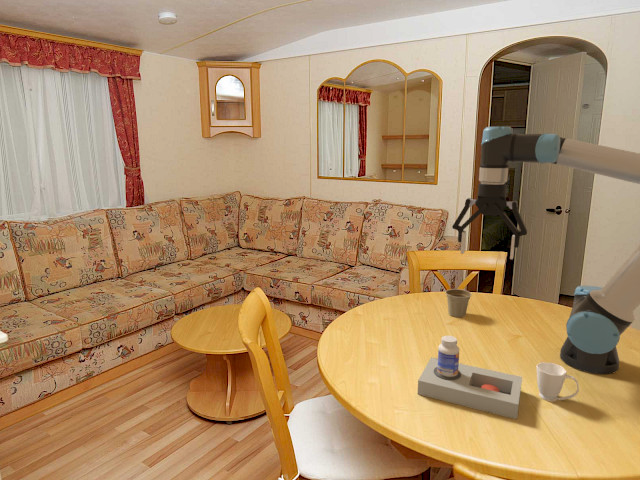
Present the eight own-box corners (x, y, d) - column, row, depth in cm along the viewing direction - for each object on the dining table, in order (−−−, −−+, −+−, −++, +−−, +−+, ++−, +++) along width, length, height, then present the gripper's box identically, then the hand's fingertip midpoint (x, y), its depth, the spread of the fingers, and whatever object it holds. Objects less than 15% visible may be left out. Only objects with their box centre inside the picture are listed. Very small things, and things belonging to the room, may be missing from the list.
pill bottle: (458, 378, 117) (461, 344, 115) (437, 376, 118) (439, 342, 116) (457, 368, 122) (459, 335, 120) (436, 366, 123) (438, 333, 121)
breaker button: (499, 392, 117) (500, 386, 117) (497, 401, 113) (498, 395, 113) (481, 388, 119) (482, 382, 119) (479, 397, 115) (480, 391, 115)
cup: (534, 386, 121) (537, 359, 119) (576, 396, 117) (580, 368, 115) (532, 399, 115) (535, 371, 113) (576, 410, 111) (581, 381, 109)
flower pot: (439, 311, 173) (440, 290, 171) (460, 308, 176) (461, 287, 174) (453, 320, 165) (454, 298, 163) (475, 317, 167) (476, 295, 165)
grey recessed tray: (520, 390, 119) (522, 375, 118) (516, 419, 107) (518, 403, 106) (430, 369, 130) (431, 356, 129) (417, 394, 118) (418, 379, 117)
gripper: (541, 183, 125) (533, 257, 130) (450, 179, 136) (446, 248, 141) (541, 186, 118) (532, 263, 123) (445, 182, 129) (440, 253, 134)
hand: (486, 255), depth 132 cm, fingers open, 13 cm apart
